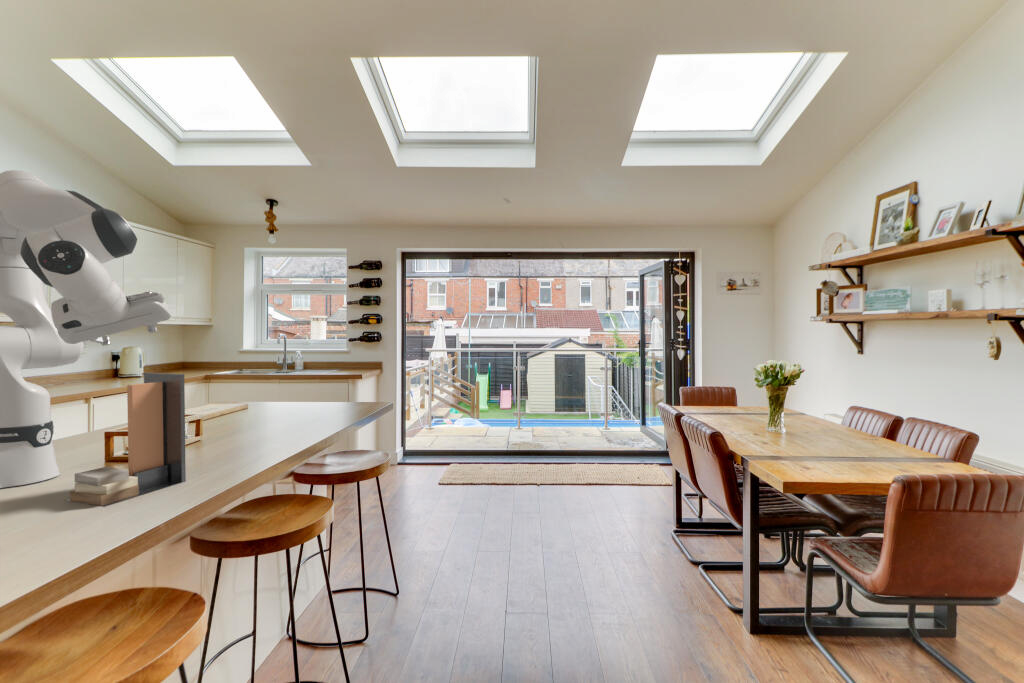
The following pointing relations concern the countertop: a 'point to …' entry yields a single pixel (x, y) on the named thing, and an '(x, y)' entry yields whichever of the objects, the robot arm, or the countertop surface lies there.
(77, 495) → the offcut stack
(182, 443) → the rack
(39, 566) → the countertop surface
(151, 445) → the sheet
